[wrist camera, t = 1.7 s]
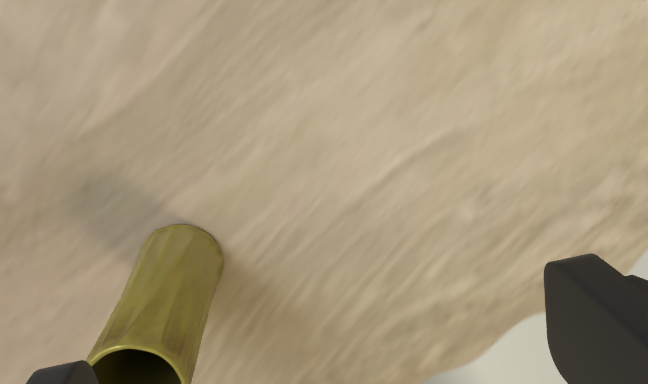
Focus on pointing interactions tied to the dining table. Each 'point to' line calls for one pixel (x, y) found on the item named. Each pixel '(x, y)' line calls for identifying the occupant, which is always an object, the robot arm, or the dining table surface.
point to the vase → (161, 311)
